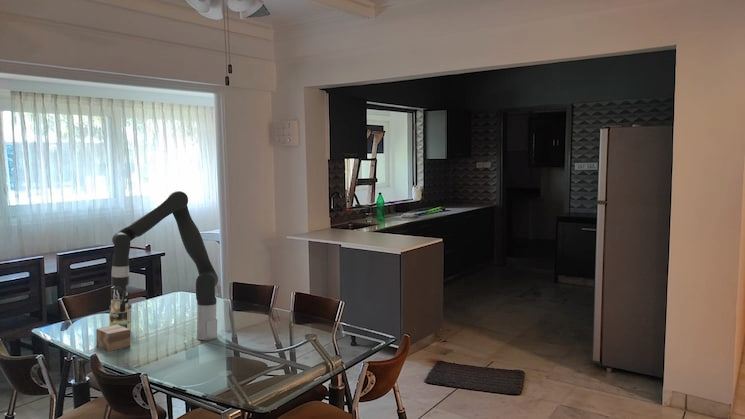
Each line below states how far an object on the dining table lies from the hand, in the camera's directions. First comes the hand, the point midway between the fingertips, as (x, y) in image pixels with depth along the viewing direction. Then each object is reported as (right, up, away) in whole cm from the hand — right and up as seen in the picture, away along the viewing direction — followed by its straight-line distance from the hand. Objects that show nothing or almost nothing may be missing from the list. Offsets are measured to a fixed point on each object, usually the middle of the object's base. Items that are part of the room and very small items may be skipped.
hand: (119, 310), depth 255 cm
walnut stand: (-2, -16, -1) cm, 17 cm away
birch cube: (0, -1, 0) cm, 1 cm away
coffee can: (-8, -15, +19) cm, 25 cm away
